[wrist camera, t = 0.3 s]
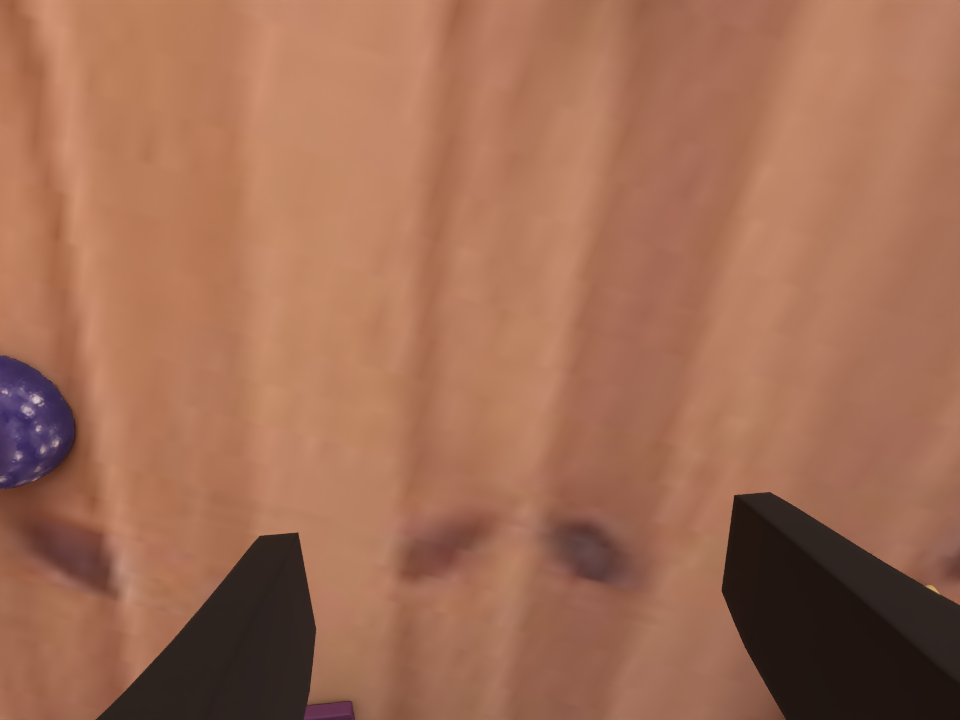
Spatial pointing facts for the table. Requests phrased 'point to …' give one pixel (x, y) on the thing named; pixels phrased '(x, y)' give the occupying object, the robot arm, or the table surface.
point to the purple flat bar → (330, 711)
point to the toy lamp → (30, 424)
